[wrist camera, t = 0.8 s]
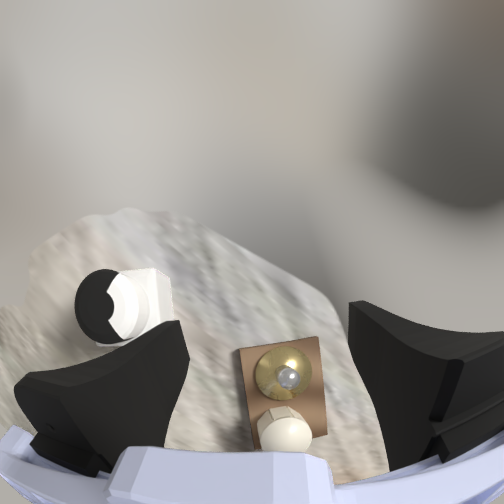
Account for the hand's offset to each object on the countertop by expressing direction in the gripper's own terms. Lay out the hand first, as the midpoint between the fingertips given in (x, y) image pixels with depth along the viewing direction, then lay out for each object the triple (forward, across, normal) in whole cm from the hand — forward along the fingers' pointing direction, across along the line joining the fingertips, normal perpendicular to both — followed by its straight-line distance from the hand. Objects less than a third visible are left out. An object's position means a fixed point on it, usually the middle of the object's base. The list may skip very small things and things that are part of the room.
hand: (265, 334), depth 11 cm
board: (+15, 0, +18) cm, 23 cm away
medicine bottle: (+17, +15, +6) cm, 24 cm away
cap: (+12, +1, +20) cm, 24 cm away
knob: (+15, 0, +14) cm, 21 cm away
